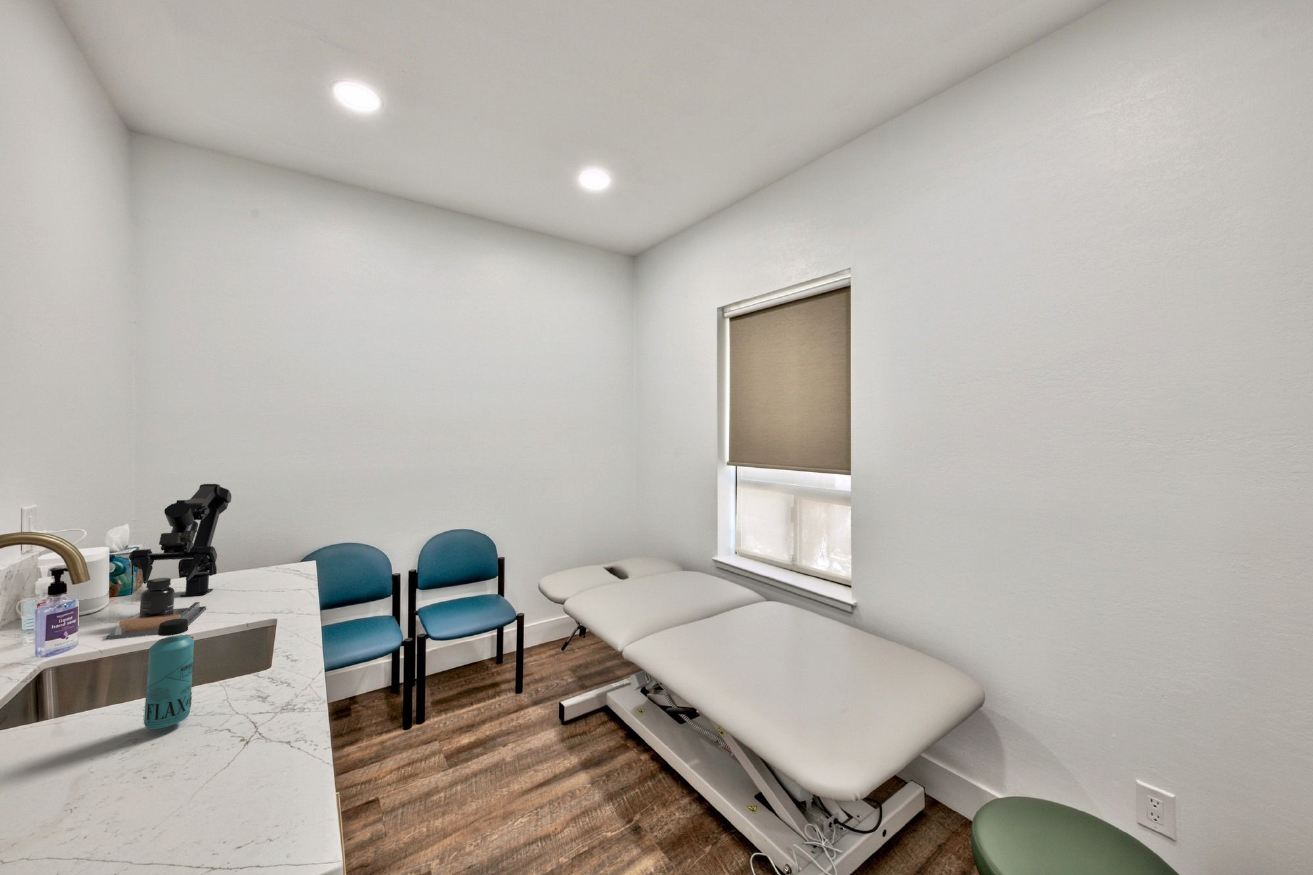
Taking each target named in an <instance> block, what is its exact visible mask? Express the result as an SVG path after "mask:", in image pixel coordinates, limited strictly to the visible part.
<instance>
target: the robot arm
mask: <svg viewBox="0 0 1313 875" xmlns="http://www.w3.org/2000/svg"><path fill="white" fill-rule="evenodd" d="M231 502H232V493H231V491H230V490H229V489H228V488H225V487H222V486H221V484H218V483H203V484H200V485H199V487H198V489H197V491H196V492H195V493H194V494H193V495H192V496H191V497H190V498H189V499H177V500H176V502H174V503H171V504H169V505H168V506H166V507H165V508H164V511H163V512H164V515H165V517H166V519H167V522H168V524H169V527H172V528H171V530H170V532H163V533H160V537H159V542H158V544H159V546H160V545H161V546H160V550H161V551H163V552H157V553H156V552H155V553H154V552H152V549H151V548H148V549H145V548H143V549H142V548H141V549H134V550H132V551H131V552H129V555H128V559H129V561H130V562H131V564H132V566H133V567H134V568H138V570H141V574H142V576H141V577H142V583H143V584H144V585H147V581H148V580H150V577H151V573H152V572H153V571H152V570H153V565H154V562H155V561H166V560H176V561H177V560H179V562H178V567H177V568H178V577H179V579H182V578H185V580H186V581H185V591H184V592H183V593H181V594H179V596H180V597H195V596H197V597H198V596H205V595H206V594H208V593H211V592H212V591H214V588H209V585H210V584H209V581H210V577H211V576H213V575H214V576H215V575H217V573H218V572H217V571H218V568H217V560H218V559H217V557H218V553H217V550H216V548H215V547H214V546H213V545H212V543H213V542H212V541H213V538H214V535H215V532H216V527H217V524H218V521H219V517H220V515H221V514H222V513H223V512H225V511H226V510H227V509H228V506H229V504H230V503H231ZM198 521H199V523H198Z"/></svg>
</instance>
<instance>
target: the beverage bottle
mask: <svg viewBox="0 0 1313 875" xmlns="http://www.w3.org/2000/svg"><path fill="white" fill-rule="evenodd" d="M188 630H189V626H188V620H187V619H172V620H168V621H164V622H162V623H160V625H159V630H158V634H157V635H158V637H160V636H161V637H163V638H161V639H159V640H157V641H156V642H155V643H153V644H152V645H151V646H150V647H149V648H148V666H147V682H146V683H147V684H146V688H145V690H144V691H145V698H144V712H143V715H142V716H143V725H144V727H145V728H146V729H149V730H150V729H151V730H153V729H162V728H163V729H164V728H167V727H171V726H174V725H177V724H178V723H180V722H181V723H182V721H185V720H186V719H187V718H188V717H189V715H190V713H191V708H192V702H193V701H192V699H193V695H192V694H193V690H192V689H193V688H192V687H193V670H194V666H195V665H194V664H195V663H194V661H195V657H194V646H195V639H194V638H192V637H190V636H188V635H185V634H184V633H185V632H187V631H188ZM183 634H184V635H183Z"/></svg>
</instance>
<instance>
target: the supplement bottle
mask: <svg viewBox="0 0 1313 875" xmlns="http://www.w3.org/2000/svg"><path fill="white" fill-rule="evenodd" d="M171 582H172V581H171V578H170V577H158V578H157V577H156V578H152V579H148V581H147V583H146V586H145V590H144V591H142V593H141V594H140V604H139V612H140V615H139V618H142V617H153V616H164V615H173V609H175V606H174V605H175V593H176V592H175V589H174V587H172V586H171Z"/></svg>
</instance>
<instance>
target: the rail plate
mask: <svg viewBox="0 0 1313 875" xmlns="http://www.w3.org/2000/svg"><path fill="white" fill-rule="evenodd" d="M206 610H207V605H205V606H201V601H197V602H195V601H194V603H192V604H191V605H190V606H189V607H181V608H174V609H173V615H164V616H153V617H142V618H139V615H140V611H139V612H137V613H136V614H135V615H134V616H132V617H130V618H126V619H124V618H122V619H120V620H119V624H118V625H119V626H118V627H116V628H115V629H114V630H113V631H111V632H110V633H109V634H107V635H106V639H110V640H116V639H126V638H127V637H128V638H138V637H145V636H146V635H147V636H156V635H158V630H159V625H160V623H162V622H164V621H168V620H172V619H187V620H188V627H189V626H190V625H191V624H192V623H193V622H194V621H195V620H196V619H197V618H199V616H201V615H202V614H203V613H204V612H205V611H206ZM137 636H138V637H137Z"/></svg>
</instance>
